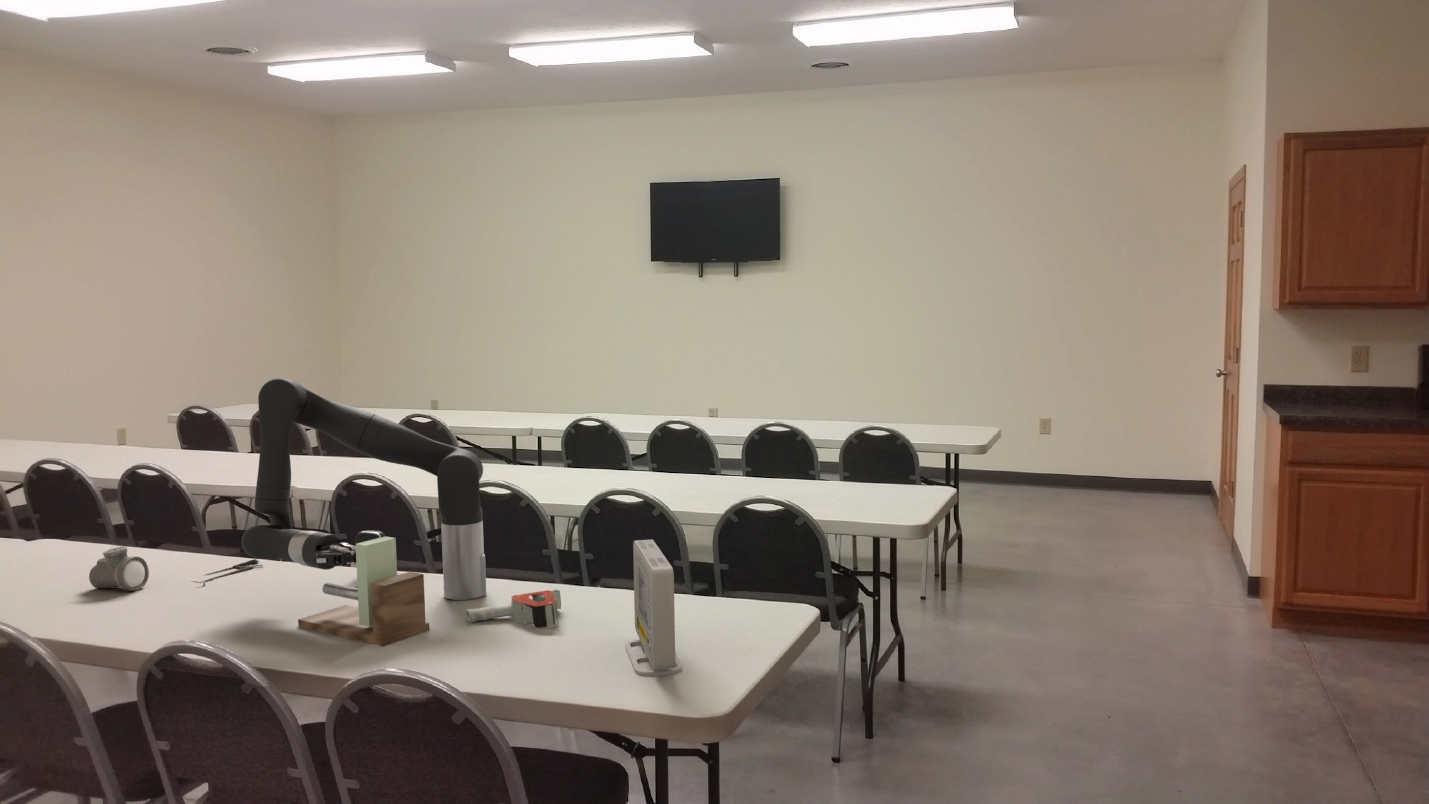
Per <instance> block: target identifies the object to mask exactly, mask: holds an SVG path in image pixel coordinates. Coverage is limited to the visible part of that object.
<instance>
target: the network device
mask: <svg viewBox="0 0 1429 804" xmlns="http://www.w3.org/2000/svg"><path fill="white" fill-rule="evenodd" d="M632 544H633V545H632V546H633V548H632V550H633V553H632V554H633V558H632V559H633V596H634V598H633V600H634V607H633V609H634V627H635V632H636V634H637V636H638V639H634V640H629V641H627V642H626V643H625V645H624V646H625V647H624V648H625V651H626V653H627V657H628V659H629V661H630V663H631V666H632V669H633V671H634V673H635V674H637V675H639V676H643V677H644V676H645V677H653V676H663V675H662V674H666V675H672V674H678V673H679V671H680V672H681V671H683V664H682V662H681V660H680V658H679V657H678V654H677V653H676V629H675V628H676V625H675V623H676V622H675V617H676V615H675V576H674V575H675V574H674V569H673V566H672V565H671V564H670V562H669V561H668V559H667V557H666V556H665V555H664V554H663V552H662V550H661V549H660V548H659V546H658V545H657V543H656V542H655V541H654V539H641V540H640V539H639V540H638V539H637V540H633V542H632ZM637 645H640V646H642V647H643V649H644V652H634V650H633V648H632V646H637ZM648 661H649V663H650V665H651V667H652V669H649V670H648V669H645V670H644V669H641V668H640V665H639V663H640V662H648Z"/></svg>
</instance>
